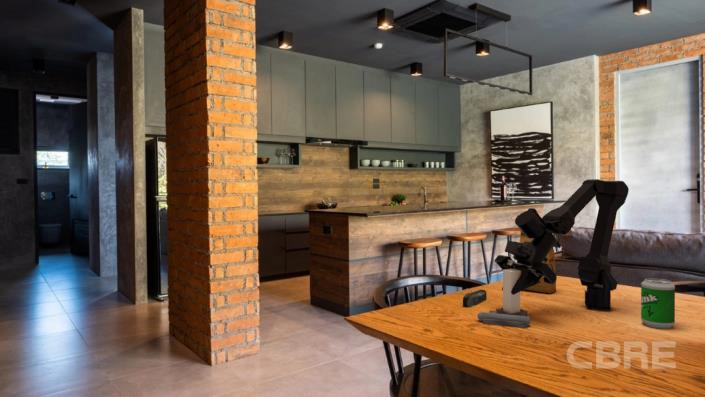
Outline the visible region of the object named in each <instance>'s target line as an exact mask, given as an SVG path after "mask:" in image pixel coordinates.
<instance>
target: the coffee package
mask: <svg viewBox="0 0 705 397" xmlns="http://www.w3.org/2000/svg"><path fill="white" fill-rule="evenodd" d="M519 232H520V237H519V243H523V242H525V241H526V242H531V240H532V239H533V238H527V237H526V236H525V235H524V234H523V232H522V231H521V230H519ZM555 257H556V256H555V250H554V247H553V248H552V249H551V251H550V252H549V253H548V255H547V256H546V258H547V259H548V261H547V262H542V263H545V264H548V265H549V266H550V267H551V269H552V270H553V271H554V272H555V273H556V274H557V271H556V262H555V261H556V258H555ZM520 276H521V271H520ZM544 277H545V276H543V277H541V279H540V280H539V281H540V282H541V283H540V284H535V285H533V286H531V287H528V288H526V289H524V290H525V291H529V292H530V291H531V292H537V293H544V294H553V292H556V291H557V280H556V281H555V282H554V284H553V285H552V284H548V283H545V282H544Z"/></svg>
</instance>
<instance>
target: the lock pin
mask: <svg viewBox="0 0 705 397" xmlns="http://www.w3.org/2000/svg"><path fill="white" fill-rule="evenodd" d="M519 277H520V271H519V270H515V269H506V270H502V287H503V291H502V308H503V310H504V311H506V312H509V313H515V312H520V309H521V291H520V292H518V293H516V294H514V295H513V294H512V293H511V291H512V289H513V287H514V285H515V284H516V282H517V280H518V279H519Z"/></svg>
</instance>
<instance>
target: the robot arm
mask: <svg viewBox="0 0 705 397" xmlns="http://www.w3.org/2000/svg"><path fill="white" fill-rule="evenodd" d="M581 184H582V185H580V187H579V188H578V189H577V190H575V191H574V192H573V193H572V195H570V197H569V198H567V199H566V200H565V201H564V203H563V204H561V205H560V206H558V207H557V208H554V209H552V210H549V211H548V212H547V213H545V214H544V215H543V217H542V216H540V214H539V213H538V211H537V210H536V209H537V208H535V207H534V208H531V207H529V208H528V209H527V210H526V211H523V212H521V213H520V214H519V215H517V216H516V218H515V220H514V224H515V226H517V227H518V229H519V231H522V232H523V234H524V235H525V236H526V237H527V238H533V239H532V240H531V242H526V241H525V242H523V243H520V241H519V242H518V241H513V240H507V242H506V245H505V248H504V252H505V253H508V254H509V255H510V254H511V255H513V256H512V258H513V259H514V260H516V261H514V260H513V259H512V258H511V257H510V256H507V255H504V254H498V255H497V256H496V258H495V259H494V262H495V263H496V265H497V266H498V267H499V268H500V269H501V270H502V271H503V270H506V269H515V270H519V271H521V276H520V277H519V279H518V280H517V282H516V284H515V285H514V287H513V289H512V291H511V293H512V294H513V295H514V294H516V293H518V292H520V293H521V292H522V291H524V290H525V289H526V288H528V287H531V286H533V285H535V284H540V283H541V282H540V281H539V280H540V279H541V277H543V276H545V277H544V282H545V283H548V284H552V285H553V284H554V282H555V281H556V282H557V279H558V278H557V276H558V275H557V272H556V273H555V272H554V271H553V270H552V269H551V267H550V266H549V265H548V264H545V263H542V262H547V261H548V259H547V258H546V256H547V255H548V253H549V252H550V251H551V249H552V248H553V249H554V248H558V249H560V248H562V245H561V242H560V238H559V237H556V236H555V235H562V236H563V235H564V236H565V235H568V233H569V232H570V231H571V229H572V228H573V227H574V225H575V223H576V217H577V216H578V215H579V214H580V213H581V212H582V211H583V210H584V209H585V208H586V206H587V205H588V204H589V203H590V202H591V201H592V200H594V198H595V201H596V204H597V206H598V211H597V215H596V221H595V225H594V229H593V234H592V237H591V238H592V239H591V242H590V248H589V252H588V253H587V254H586V255H585V256H580V257H579V262H578V266H577V268H576V269H577V276H578V277H579V281H580V285H581V286H583V287H586V290H584V305H585V306H586V309H588V310H599V311H608V312H609V311H610V312H611V311H613V310H612V307H611V303H612V302H611V300H612V299H611V297H612V296H611V295H612V294H611V293H612V291H614V290H617V287H618V284H619V282H618V281H617V279H615V277H614V276H613V275H612V274H611V271H612V264H611V263H610V260H609V257H608V254H609V250H610V246H611V241H612V237H613V232H614V227H615V223H616V217H617V212H618V210H620V208H621V207H622V206H623V205H624V204H625V203H626V200H627V198H628V195H629V190H630V189H629V186H628V185H627V184H626V182H625V181H623V180H602V179H596V178H594V179H591V178H590V179H589V178H588V179H585V180H583V182H582V183H581ZM501 291H502V292H503V286H502V287H501Z"/></svg>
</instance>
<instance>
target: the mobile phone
mask: <svg viewBox="0 0 705 397" xmlns="http://www.w3.org/2000/svg"><path fill="white" fill-rule="evenodd" d="M462 297H463V298H462V307H463V308H467V309H469V308H472V307H474V306H477V305H480V304H482V303H483V302H485V301H486V300H487V290H485V289H478V290H475V291H472V292H468V293H466V294H465V295H463V296H462Z"/></svg>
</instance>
